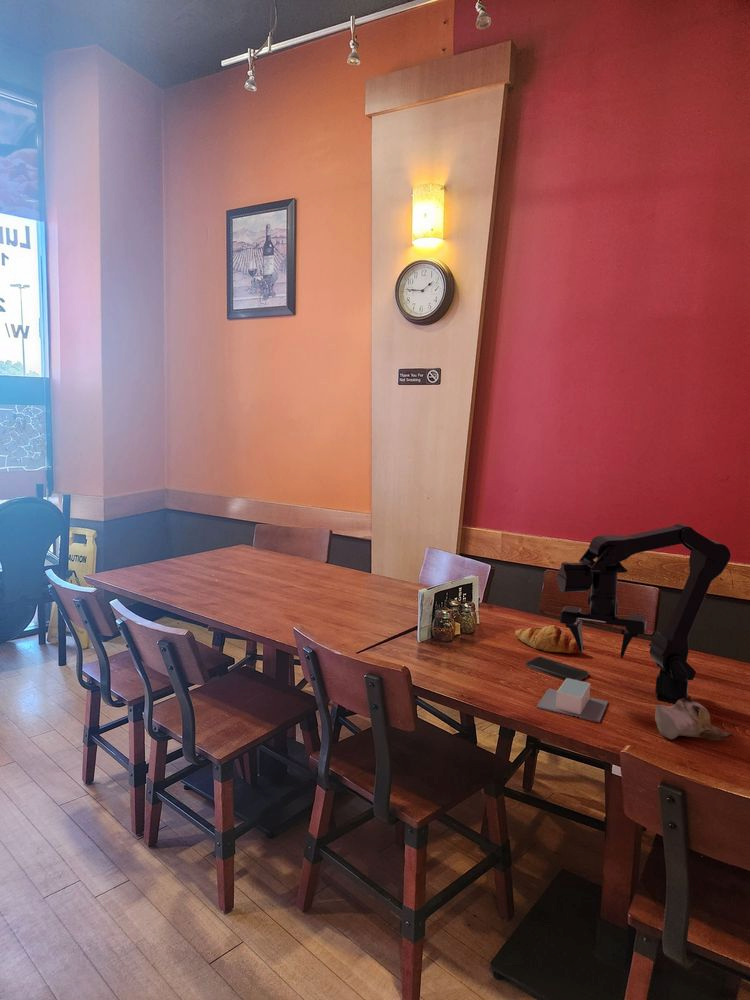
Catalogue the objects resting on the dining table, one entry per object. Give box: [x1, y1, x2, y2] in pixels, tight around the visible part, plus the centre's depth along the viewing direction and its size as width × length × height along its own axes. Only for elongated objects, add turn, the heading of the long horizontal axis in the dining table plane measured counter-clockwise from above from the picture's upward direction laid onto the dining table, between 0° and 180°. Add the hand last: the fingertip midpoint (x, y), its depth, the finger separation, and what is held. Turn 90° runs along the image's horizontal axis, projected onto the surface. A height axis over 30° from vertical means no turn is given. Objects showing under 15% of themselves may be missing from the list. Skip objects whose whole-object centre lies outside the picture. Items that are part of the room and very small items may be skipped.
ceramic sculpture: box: [654, 697, 734, 741], centre depth 139 cm, size 11×9×15 cm
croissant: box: [514, 624, 585, 654], centre depth 189 cm, size 21×10×8 cm, turn 52°
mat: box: [536, 688, 609, 724], centre depth 153 cm, size 14×11×1 cm
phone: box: [525, 656, 590, 681], centre depth 172 cm, size 8×1×15 cm
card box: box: [556, 678, 591, 714], centre depth 152 cm, size 9×6×4 cm, turn 150°
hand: (601, 654), depth 155 cm, fingers open, 9 cm apart
